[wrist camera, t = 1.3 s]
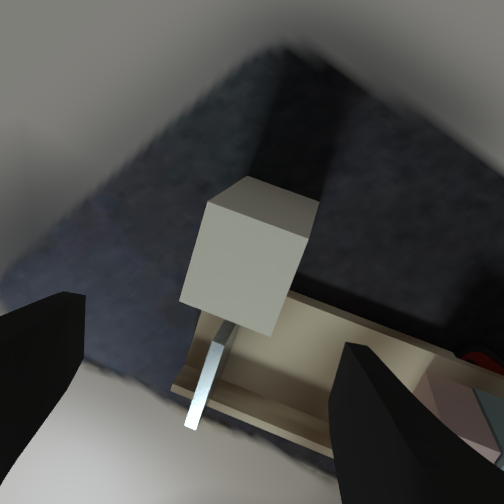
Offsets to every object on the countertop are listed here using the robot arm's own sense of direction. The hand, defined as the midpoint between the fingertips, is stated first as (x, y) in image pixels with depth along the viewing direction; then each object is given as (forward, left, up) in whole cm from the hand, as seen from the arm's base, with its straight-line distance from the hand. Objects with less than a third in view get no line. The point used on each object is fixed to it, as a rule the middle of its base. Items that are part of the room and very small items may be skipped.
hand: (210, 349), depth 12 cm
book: (0, 0, -12) cm, 12 cm away
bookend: (0, +6, -12) cm, 14 cm away
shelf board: (-7, +6, -12) cm, 15 cm away
